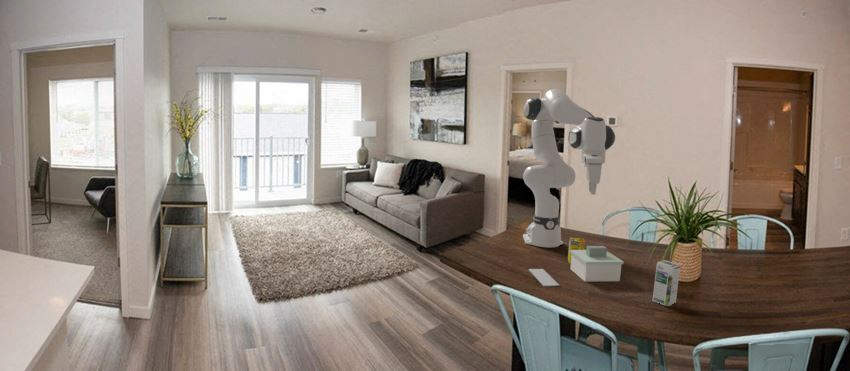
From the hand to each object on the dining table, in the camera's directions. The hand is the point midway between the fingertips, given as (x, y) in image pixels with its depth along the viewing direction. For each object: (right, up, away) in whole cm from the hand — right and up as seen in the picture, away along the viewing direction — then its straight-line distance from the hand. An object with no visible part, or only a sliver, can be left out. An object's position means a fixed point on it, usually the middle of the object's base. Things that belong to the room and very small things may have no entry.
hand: (592, 193), depth 190 cm
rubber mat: (-15, -33, -1) cm, 37 cm away
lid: (+1, -26, 0) cm, 26 cm away
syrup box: (+17, -38, -22) cm, 48 cm away
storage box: (+1, -34, +1) cm, 34 cm away
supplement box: (-2, -31, +17) cm, 35 cm away
